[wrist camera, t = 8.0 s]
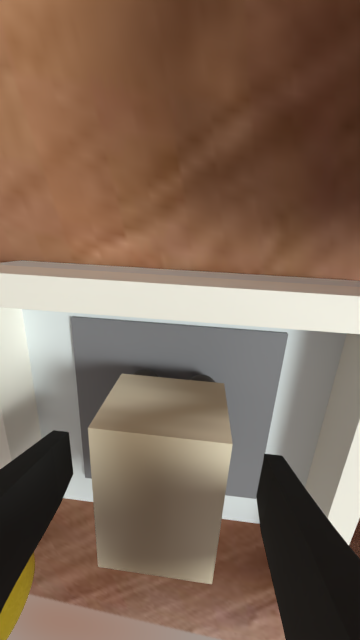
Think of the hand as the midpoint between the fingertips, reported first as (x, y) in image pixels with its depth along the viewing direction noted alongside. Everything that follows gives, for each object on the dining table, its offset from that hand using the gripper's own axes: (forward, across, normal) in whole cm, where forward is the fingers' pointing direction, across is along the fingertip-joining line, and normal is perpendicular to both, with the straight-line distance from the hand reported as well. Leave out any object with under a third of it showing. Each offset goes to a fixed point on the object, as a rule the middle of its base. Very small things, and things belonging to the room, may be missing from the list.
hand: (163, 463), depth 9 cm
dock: (+5, 0, 0) cm, 5 cm away
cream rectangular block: (+3, 0, 0) cm, 3 cm away
